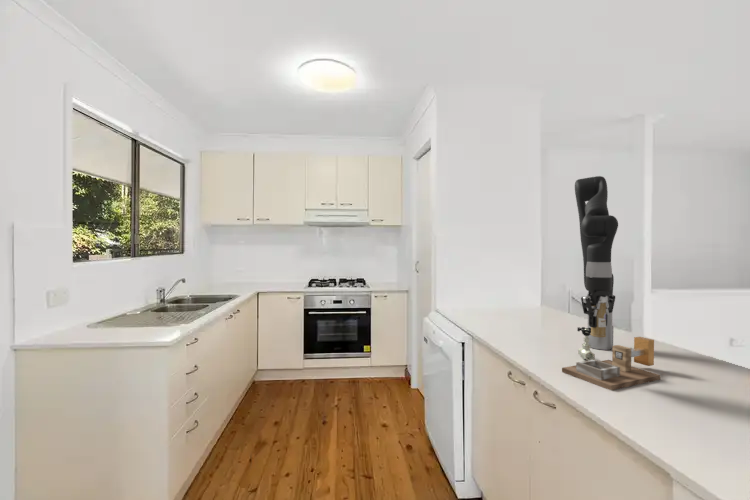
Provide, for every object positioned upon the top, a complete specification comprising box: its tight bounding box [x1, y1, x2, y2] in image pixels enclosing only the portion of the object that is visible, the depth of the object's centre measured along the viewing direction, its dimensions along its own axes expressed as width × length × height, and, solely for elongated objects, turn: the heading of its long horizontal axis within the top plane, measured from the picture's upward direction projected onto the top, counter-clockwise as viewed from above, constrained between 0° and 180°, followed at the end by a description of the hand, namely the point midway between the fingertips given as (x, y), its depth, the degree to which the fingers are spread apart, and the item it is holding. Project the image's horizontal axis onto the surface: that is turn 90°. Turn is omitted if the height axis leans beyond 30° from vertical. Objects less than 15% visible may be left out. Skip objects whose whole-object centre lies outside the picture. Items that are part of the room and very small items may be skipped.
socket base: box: [561, 344, 661, 391], centre depth 129 cm, size 24×18×9 cm
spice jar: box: [591, 297, 607, 337], centre depth 127 cm, size 5×5×14 cm
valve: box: [576, 326, 596, 361], centre depth 148 cm, size 7×7×12 cm
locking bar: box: [616, 336, 655, 367], centre depth 134 cm, size 15×5×9 cm, turn 113°
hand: (598, 326), depth 127 cm, fingers closed on spice jar, 4 cm apart
